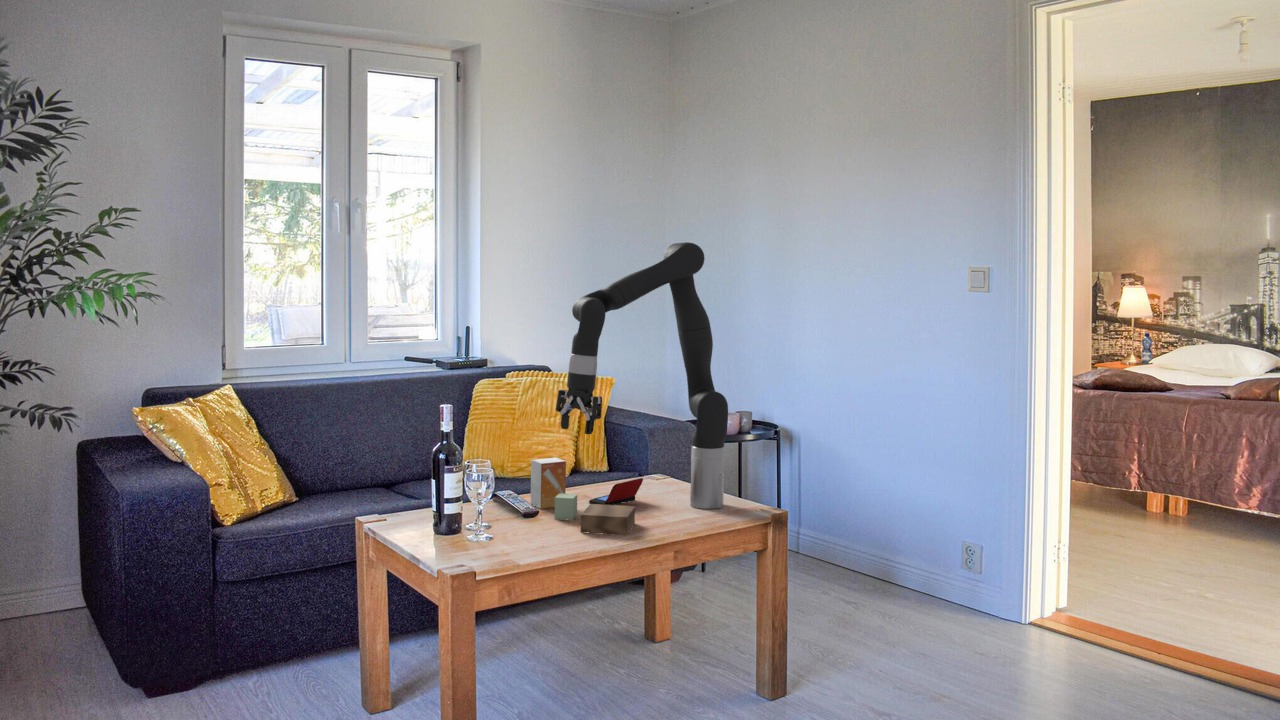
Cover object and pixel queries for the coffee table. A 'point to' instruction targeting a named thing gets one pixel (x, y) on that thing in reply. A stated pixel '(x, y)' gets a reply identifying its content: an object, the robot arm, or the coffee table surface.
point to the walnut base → (608, 519)
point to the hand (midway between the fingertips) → (576, 431)
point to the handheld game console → (620, 493)
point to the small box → (547, 481)
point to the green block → (566, 506)
